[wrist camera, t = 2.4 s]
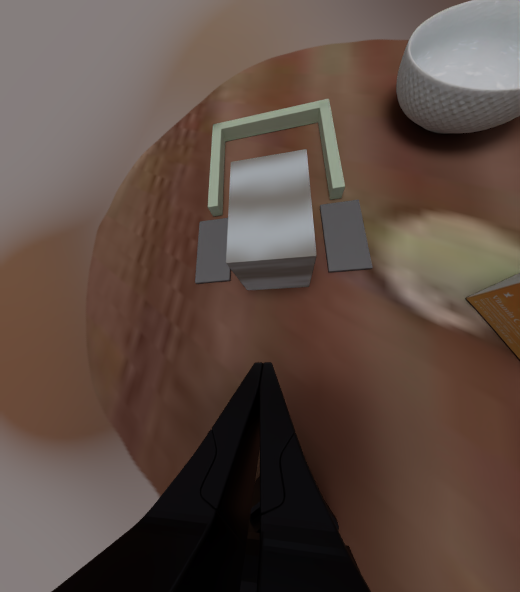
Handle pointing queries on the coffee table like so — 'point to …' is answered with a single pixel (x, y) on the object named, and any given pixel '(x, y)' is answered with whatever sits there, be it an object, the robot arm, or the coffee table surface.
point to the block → (271, 222)
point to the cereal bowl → (463, 68)
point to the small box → (502, 309)
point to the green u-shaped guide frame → (335, 217)
